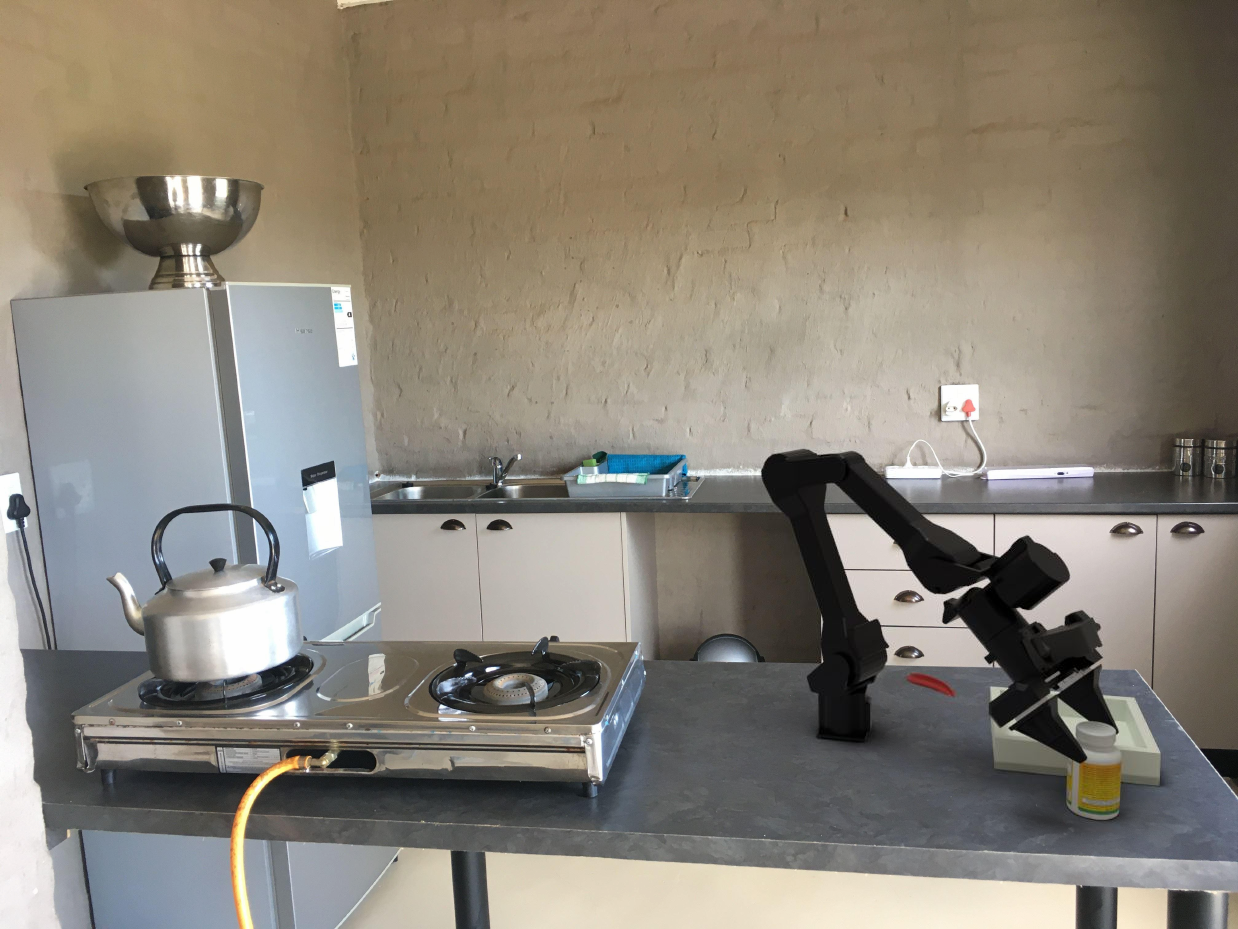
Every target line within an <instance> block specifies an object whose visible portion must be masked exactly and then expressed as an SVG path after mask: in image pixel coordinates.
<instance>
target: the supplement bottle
mask: <svg viewBox="0 0 1238 929" xmlns="http://www.w3.org/2000/svg"><path fill="white" fill-rule="evenodd" d="M1075 736H1076V739H1077V741H1078V743H1079V744H1080V746H1081V747H1082V749H1083V751H1084V752H1085V754H1086V756H1087V760H1086V761H1084V762H1083V763H1081V764H1079V763H1077V762H1075V761H1073V760H1072V759H1070V758H1068V769H1067V776H1066V796H1065V797H1066V806H1067V807H1068V809H1069V810H1070V811H1071V812H1072V813H1074V814H1075V815H1079V816H1080V817H1083V818H1085V819H1086V818H1087V819H1092V820H1095V821H1096V820H1099V821H1108V820H1110V819H1114V818H1116V817H1117V816H1118V815H1119V812H1120V803H1121V785H1122V784H1121V783H1122V782H1121V764H1122V755H1121V752H1120V750H1119V749H1118V748H1117V747H1116V746H1115V745H1114V744H1115V742H1116V730H1115V729H1114V728H1113V727H1112V726H1110V725H1108V724H1105V723H1101V722H1094V721H1085V722H1080V723H1078V724H1077V725H1076V734H1075Z"/></svg>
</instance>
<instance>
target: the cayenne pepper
mask: <svg viewBox="0 0 1238 929" xmlns="http://www.w3.org/2000/svg"><path fill="white" fill-rule="evenodd" d="M906 680H907V681H908V682H909V683H911V684H914V685H917V686H919V687H920V686H921V687H924V686H925V688H928V689H931V688H932V689H931V690H934V691H936V690H937V691H936V692H939V691H940V692H939V693H941V692H942V693H941V694H943V693H944V695H945V694H946V695H945V696H947V695H951V696H950V697H952V696H953V697H955V696H954V694H956V692H955V690H954V689H953V688H951V687H950V686H949V685H948V684H947V683H946V682H944V681H943V680H941V679H939V678H936V677H935V676H931V675H928V674H926V673H921V672H919V673H918V672H915V673H914V672H913V673H912V672H910V674H909V675H907V676H906ZM956 695H957V694H956ZM953 697H952V698H953Z"/></svg>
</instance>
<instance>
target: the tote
mask: <svg viewBox="0 0 1238 929" xmlns="http://www.w3.org/2000/svg"><path fill="white" fill-rule="evenodd" d="M989 688H990V689H989V690H990V692H989V703H990V702H991V701H992V700H994V699H995V698H996V697H998V696H999V695H1001V694H1002V693H1003V692H1005V691H1006V690H1007V689H1009V688H1008V687H1003V686H1001V687H1000V686H991V685H990V687H989ZM1060 692H1061V691H1056V690H1054V691H1053V690H1050V694H1049V695H1047V696H1046V697H1047V698H1048V699H1050V698H1051V697H1053V696H1054V695H1056V694H1058V693H1060ZM1102 695H1103V697H1104V700H1105V702H1106V704H1107V706H1108V708H1109V710H1110V713H1111V715H1112V717H1113V719H1114V721H1115V723H1116V726H1117V728H1118V730H1119V733H1118V734H1117V735H1116V742H1115V744H1114V745H1115V746H1116V747H1117V748H1118V749H1119V750H1120V752H1121V755H1122V764H1121V783H1128V784H1138V785H1147V786H1155V787H1156V786H1157V787H1160V781H1161V777H1160V776H1161V757H1162V756H1161V755H1162V753H1161V751H1160V749H1159V746H1158V745H1157V743H1156V740H1155V739H1154V736H1153V734H1152V732H1151V730H1150V727H1149V726H1148V724H1147V721H1146V719H1145V717H1144V715H1143V713H1142V711H1141V709H1140V706H1139V705H1138V702H1137V701H1136V698H1135V697H1129V696H1118V695H1116V696H1115V695H1105V694H1102ZM1058 713H1059V715H1060V717H1061V718H1062V720H1063V721H1064V722H1065V724H1066V725H1067V727H1068V728H1069V730H1070V731H1071V733H1072V734H1073V735H1074V737H1075V738H1076V736H1075V734H1076V725H1077V724H1078V723H1080V722H1085V721H1088V720H1086V719H1085V718H1084V717H1083V716H1081V715H1080V714H1079V713H1077V712H1076V711H1075V710H1073V709H1072V708H1071V707H1069V706H1068V705H1067V704H1065V703H1064V702H1063V701H1061V700H1060V699H1059V698H1058ZM989 719H990V720H989V721H990V730H991V743H992V754H993V766H994V767H993V768H994V770H1003V771H1011V772H1020V773H1021V772H1022V773H1032V774H1042V775H1048V776H1049V775H1051V776H1059V777H1060V776H1062V777H1067V769H1068V757H1066V756H1064V755H1062V754H1061V753H1059V752H1057V751H1055V750H1053V749H1052V748H1050V747H1048V746H1046V745H1044V744H1042V743H1040V742H1038V741H1036V740H1034V739H1032V738H1030V737H1028V736H1026V735H1024V734H1022V733H1020V732H1017V731H1015V730H1013V731H1010V730H1009V729H1008V728H1009V727H1010V726H1011V725H1013V724H1014V723H1016V722H1017V721H1016V720H1015V719H1013V720H1012V721H1010V722H1009V723H1008V724H1006V725H1005V726H1003V727H1002V728H999V727H998V725H997V724H996V723H995V722H994V720H993V719H992V718H991V717H990V716H989ZM1076 740H1077V739H1076Z"/></svg>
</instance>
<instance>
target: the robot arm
mask: <svg viewBox="0 0 1238 929" xmlns="http://www.w3.org/2000/svg"><path fill="white" fill-rule="evenodd" d="M760 475H761V481H762V483H763V486H764V488H765V490H766V492H767V493H768V496H769V498H770V500H771V502H772V503H773V504H774V506H776V507H777V508H778V509H779V511H780V512H781V513H783V515H784V516H786V518H787V519H788V520H789V523H790V526H791V528H792V532H793V536H794V539H795V540H796V544H797V547H798V550H799V553H800V556H801V559H802V562H803V566H804V569H805V571H806V574H807V576H808V579H809V583H810V587H811V589H812V592H813V596H814V598H815V600H816V604H817V607H818V610H819V612H820V616H821V619H822V620H821V622H822V626H821V632H820V633H821V634H820V640H819V641H820V642H819V647H820V653H821V659H822V662H821V663H820V664H819V665H818V666H816V668H815V669H813V670H812V671H811V672H809V674H807V675H806V680H807V684H808V686H809V691H810V692H811V693H814V694H817V707H818V708H817V715H818V717H817V718H818V719H817V720H818V723H817V728H816V732H815V736H816V737H817V738H820V739H821V738H822V739H830V740H831V739H833V740H842V741H852V742H860V743H861V742H866V741H867V736H868V734H869V733H871V732H872V731H871V730H872V726H873V697H872V696H868V685H870V684H874V683H875V682H876V679H877V676H878V674H879V673H881V672H882V671H883V670H884V669H885V666H886V664H887V663H888V651H887V649H889V648H890V645H889V643H888V642H887V640H886V639H885V637H884V634H883V631H882V625H881V622H880V621H879V620H880V619H878V618H874V619H871V620H869V619H868V618H867V617H866V616H865V615H864V614H863V613H862V612H861V611H860V609H859V608H858V605H857V602H856V599H855V596H854V593H853V591H852V587H851V585H850V582H849V579H848V576H847V572H846V570H845V567H844V564H843V561H842V557H841V555H840V552H839V549H838V546H837V544H836V543H837V542H836V540H835V538H834V534H833V530H832V529H831V525H830V523H829V520H828V516H827V513H826V510H825V502H826V495H827V488H828V484H829V485H830V484H834V485H835V486H837V487H838V488H839V489H840V490H841V491H842V492H843V493H844V494H846V496H847V497H848V498H849V499H850V500H851V501H852V502H853V503H855V505H857V507H858V508H860V509H861V510H862V511H863V512H864V513H865V514H866V515H867V516H868V517H869V518H870V519H871V520H872V521H873V522H874V523H875V524H876V525H877V526H878V527H879V528H880V529H881V530H882V531H883V532H885V534H886V535H887V536H889V537H890V539H892V540H893V541H894V543H895V544H897V546H898V547H899V548H900V550H901V552H902V554H903V557H904V560H905V563H906V565H907V567H908V569H909V570H910V571H911V572H912V574H913V575H914V576H915V578H916V579H917V580H918V582H919V583H920V585H921V586H922V587H923V588H924V589H925V590H927V591H928V592H930V593H931V594H934V595H948V594H951V593H953V592H954V593H955V591H959V590H960V589H961V590H962V589H963V588H965V587H970V588H969V589H968V590H966V591H965V592H964V593H963V594H961V595H960V597H958V598H955V597H950V598H948V599H946V600H943V612H942V617H941V618H942V619H941V623H943V625H948V624H950V623H952V622H954V621H956V620H959V619H961V621H962V622H963V623H964V625H966V626H967V628H968V629H969V630H970V632H971V633H972V634H973V635H974V637H975V638H976V639H977V641H978V642H979V643H980V644H981V645H982V646H983V647H984V649H985V650H986V651H987V653H988V654H986V655H985V656H983V659H984V660H985V661H986V662H987V664H988V665H989V666H990V665H991V664H993V663H995V662H996V663H997V665H998V666H999V667H1000V669H1001V670H1002V671H1003V672H1004V673H1005V674H1006V676H1007V677H1008V678H1009V679H1010V681H1011V682H1012V684H1010V685H1009V686H1007V688H1009V689H1007V690H1006V691H1005V692H1003V693H1002V694H1001V695H999V696H998V697H996V698H995V699H994V700H992V701H991V702H990V701H989V703H988V716H989V718H990V717H991V718H992V719H993V720H994V722H995V723H996V724H997V725H998V727H999V728H1002V727H1003V726H1005V725H1006V724H1008V723H1009V722H1010V721H1012V720H1013V719H1015V720H1016V721H1017V722H1016V723H1014V724H1013V725H1011V726H1010V727H1009V728H1008V729H1009V730H1010V731H1013V730H1015V731H1017V732H1020V733H1022V734H1024V735H1026V736H1028V737H1030V738H1032V739H1034V740H1036V741H1038V742H1040V743H1042V744H1044V745H1046V746H1048V747H1050V748H1052V749H1053V750H1055V751H1057V752H1059V753H1061V754H1062V755H1064V756H1066V757H1068V758H1070V759H1072V760H1073V761H1075V762H1077V763H1079V764H1081V763H1083V762H1084V761H1086V760H1087V756H1086V754H1085V752H1084V751H1083V749H1082V747H1081V746H1080V744H1079V743H1078V741H1077V740H1076V738H1075V737H1074V735H1073V734H1072V733H1071V731H1070V730H1069V728H1068V727H1067V725H1066V724H1065V722H1064V721H1063V720H1062V718H1061V717H1060V715H1059V713H1058V698H1059V699H1060V700H1061V701H1063V702H1064V703H1065V704H1067V705H1068V706H1069V707H1071V708H1072V709H1073V710H1075V711H1076V712H1077V713H1079V714H1080V715H1081V716H1083V717H1084V718H1085V719H1086V720H1088V721H1094V722H1101V723H1105V724H1108V725H1110V726H1112V727H1113V728H1114V729H1115V730H1116V735H1117V734H1118V733H1119V730H1118V728H1117V726H1116V723H1115V721H1114V719H1113V717H1112V715H1111V713H1110V710H1109V708H1108V706H1107V704H1106V702H1105V700H1104V697H1103V695H1104V694H1103V693H1102V690H1101V687H1100V683H1099V682H1100V676H1101V674H1100V673H1101V670H1103V665H1102V663H1100V664H1099V665H1096V666H1095V667H1094V668H1091V667H1093V665H1095V664H1096V663H1098V662H1100V660H1102V659H1103V658H1104V656H1102V655H1101V653H1100V652H1099V651H1098V650H1097V648H1102V647H1104V645H1103V643H1102V640H1101V638H1100V635H1099V633H1098V632H1100V631H1101V630H1102V626H1101V624H1100V623H1099V622H1096V621H1095V619H1094V617H1090V616H1089V615H1088V613H1086V612H1085V611H1084V610H1083V609H1079V610H1077V611H1073V612H1070V613H1067V614H1066V615H1065V616H1064V622H1063V624H1061V625H1059V626H1057V627H1053V628H1050V629H1047V628H1046V627H1045V626H1044V625H1043V623H1041V622H1037V621H1036V620H1035V621H1033V622H1032V623H1029V621H1028V620H1027V619H1026V618H1025V617H1024V616H1023V615H1022V614H1021V613H1020V611H1019V610H1018V609H1021V610H1024V611H1033V609H1036V607H1038V606H1039V605H1040V604H1041V603H1042V602H1044V601H1045V600H1046V599H1048V597H1050V596H1051V595H1053V594H1054V593H1055V592H1057V591H1058V590H1059V589H1060V588H1061V587H1063V586H1064V585H1065V584H1066V583H1067V582H1069V580H1070V579H1071V573H1070V570H1069V568H1068V566H1067V564H1066V562H1065V561H1064V560H1063V558H1062V557H1061V556H1060V555H1059V554H1058V553H1057V552H1053V551H1052V549H1050V548H1048V546H1045V545H1044V544H1042V543H1040V542H1036V541H1035V540H1033V539H1032V537H1031V536H1030V535H1028V534H1026V535H1023V536H1021V537H1018V539H1016V540H1015V541H1014V542H1013V543H1012V544H1011V546H1009V548H1008V550H1006V551H1005V552H1004V553H1002V554H1001V556H997V555H995V554H994V555H993V554H990V553H986V552H984V551H980V550H978V548H977V547H976V546H975V545H973V543H971V542H969V541H968V540H967V539H965V538H963V537H962V536H961V535H959V534H957V533H956V532H954V531H953V530H950V529H948V528H946V527H944V526H941V525H938V524H937V523H934V522H932V521H931V520H930V519H928V518H926V516H925V515H923V513H921V511H919V510H918V509H917V508H916V507H915V506H914V505H912V504H911V503H910V502H909V501H908V500H907V499H906V498H905V497H904V496H903V495H902V494H901V493H899V491H898V490H896V489H895V488H894V487H893V486H892V485H891V484H890V483H889V482H888V481H887V480H886V479H885V478H883V477H882V476H881V475H880V473H878V472H877V471H876V470H875V469H874V468H873V467H872V466H870V465H869V463H867V461H866V459H865V458H864V456H863V455H862V454H861V453H859V452H857V451H854V450H848V451H843V452H838V453H837V452H836V453H831V452H830V453H825V454H824V453H821V454H818V453H816V452H814V451H812V450H810V449H806V448H801V449H800V448H799V449H793V450H788V451H783V452H778V453H777V452H776V453H772V454H771V455H769V456H768V457H767V458H766V459H765V460H764V462H763V466H762V468H761V469H760ZM985 580H989V582H988V583H987V584H986V585H985V586H984V587H979V586H973V585H975V584H978V583H980V582H982V581H985ZM1051 689H1052V690H1054V691H1058V690H1060V689H1061V691H1059V692H1060V693H1058V694H1056V695H1054V696H1053V697H1051V698H1050V699H1048V698H1047V697H1046V696H1047V695H1049V694H1050V691H1051Z"/></svg>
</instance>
